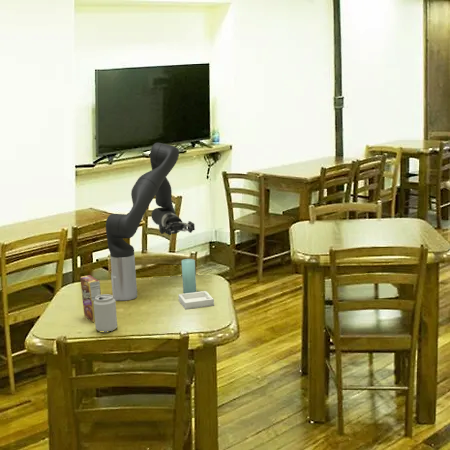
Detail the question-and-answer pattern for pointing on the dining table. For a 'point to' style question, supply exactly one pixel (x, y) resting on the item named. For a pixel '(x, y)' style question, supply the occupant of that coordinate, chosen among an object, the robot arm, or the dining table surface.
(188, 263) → the pale green cylinder
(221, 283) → the dining table surface
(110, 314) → the can
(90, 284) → the candy box
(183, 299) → the tray
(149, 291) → the dining table surface
